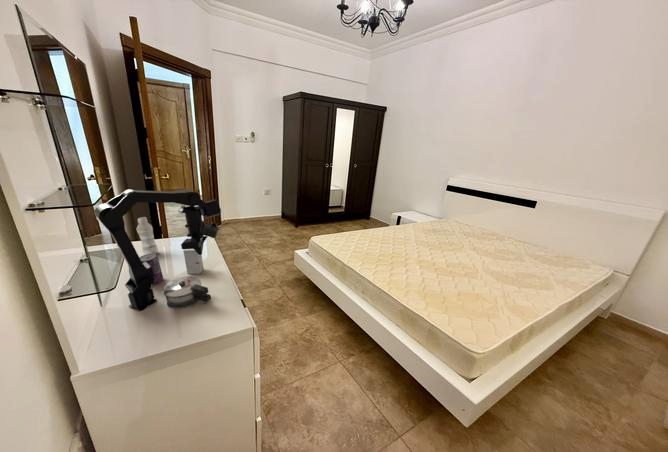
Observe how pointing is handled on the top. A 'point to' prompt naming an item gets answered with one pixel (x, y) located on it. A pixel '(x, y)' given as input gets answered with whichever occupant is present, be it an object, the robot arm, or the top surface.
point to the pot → (186, 300)
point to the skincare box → (193, 261)
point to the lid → (184, 287)
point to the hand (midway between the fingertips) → (200, 254)
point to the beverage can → (153, 266)
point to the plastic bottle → (146, 236)
